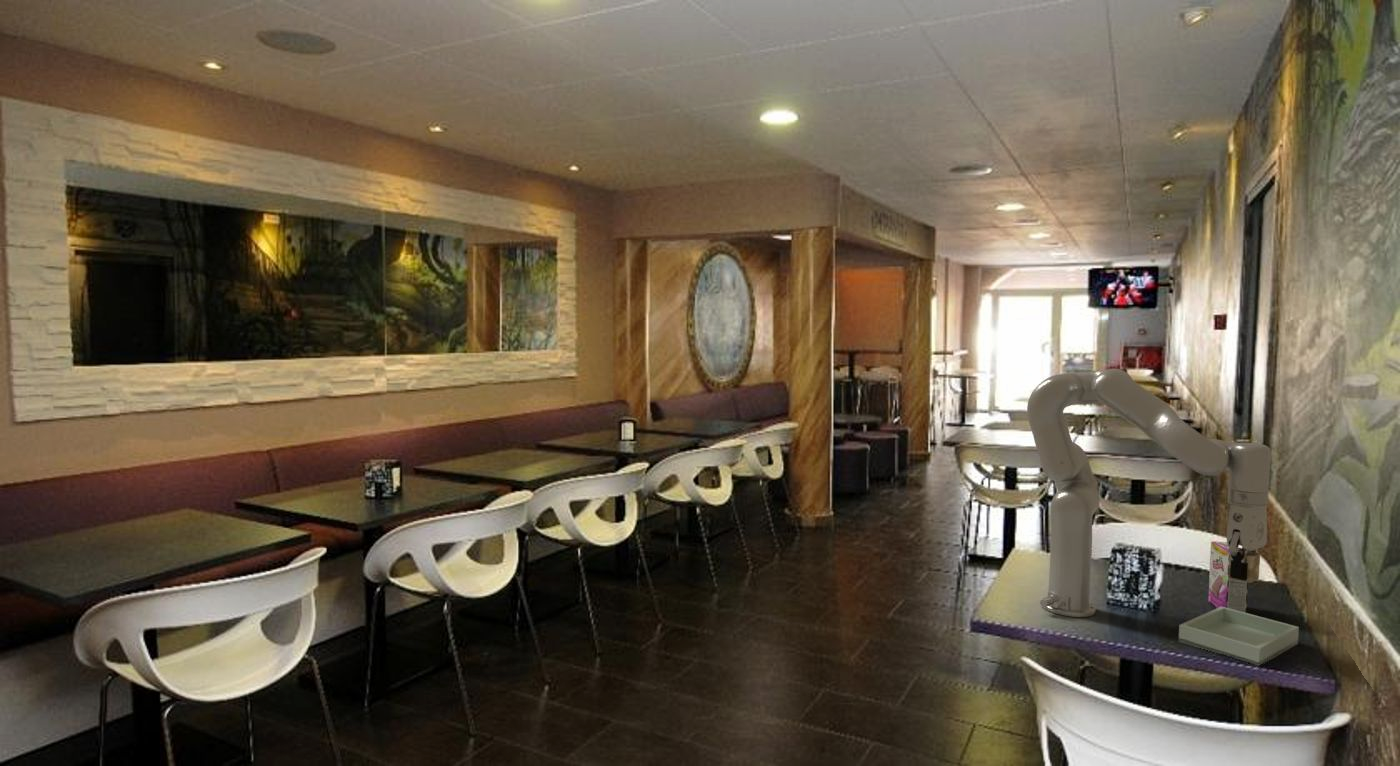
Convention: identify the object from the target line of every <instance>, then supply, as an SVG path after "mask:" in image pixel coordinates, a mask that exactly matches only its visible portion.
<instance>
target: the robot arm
mask: <svg viewBox="0 0 1400 766" xmlns="http://www.w3.org/2000/svg"><path fill="white" fill-rule="evenodd" d="M1092 404H1102V405H1104V406H1106V407H1107V408H1109V409H1110V410H1111V411H1112V412H1114V413H1116V414H1117V415H1119V416H1120V417H1121V418H1123V419H1124V420H1125V421H1127V422H1128V423H1130V424H1132V426H1134V427H1136V428H1137V429H1138V430H1139V431H1141V432H1143V433H1144V434H1145V435H1146V436H1147V437H1148V438H1149V439H1150V440H1152V441H1153V442H1155V443H1156V444H1157V445H1159V446H1160V447H1161V448H1162V449H1163V450H1165V451H1166V452H1167V453H1169V454H1170V455H1171V456H1172V457H1174V458H1175V459H1176V460H1178V461H1180V462H1182V463H1183V464H1184V465H1185V466H1187V467H1188V468H1190V469H1191V470H1193V471H1195V472H1196V473H1198V474H1200V475H1202V476H1209V477H1211V476H1216V475H1219V474H1221V473H1223V472H1224V471H1228V472H1229V473H1228V488H1227V489H1228V491H1227V503H1228V504H1230V507H1229V513H1228V519H1227V528H1226V542H1227V545H1228V546H1229V552H1230V554H1231V557H1230V560H1231V566H1230V577H1231V578H1235V579H1239V580H1244V581H1245V580H1247V569H1248V563H1246V558H1247V552H1248V551H1250V552H1255V553H1259V549H1260V548H1263V547H1265V546H1266V545H1267V543H1268V512H1267V507H1268V506H1269V494H1270V493H1269V492H1270V491H1269V490H1270V475H1271V459H1272V454H1271V453H1272V451H1271V449H1270V447H1269V446H1267V445H1265V444H1261V443H1255V442H1233V441H1226V440H1222V439H1217V438H1207V437H1206V436H1204V435H1203V434H1202V433H1200V432H1199V431H1197V430H1195V429H1194V428H1193V427H1191V426H1190V425H1189V424H1188V423H1186V422H1185V421H1184V420H1183V419H1182V418H1181V417H1180V416H1178V414H1177V412H1176V411H1175V410H1174V409H1173V408H1172V407H1171V406H1170V405H1169V404H1168V403H1167V402H1165V401H1164V400H1162V399H1161V398H1160V397H1158V396H1157V395H1155V394H1154V393H1152V392H1150V391H1149V390H1147V389H1146V388H1145V387H1143V386H1142V385H1140V384H1139V383H1137V382H1136V381H1134V380H1133V378H1132V376H1131V375H1130V374H1129V373H1128V372H1127V371H1125V370H1123V369H1119V368H1109V369H1103V370H1092V371H1090V370H1089V371H1079V372H1066V373H1057V374H1055V375H1051V376H1049V377H1047V378H1046V379H1044V380H1042V381H1041V382H1040V383H1039V384H1037V386H1036V387H1035V388H1034V389H1033V391H1032V392H1031V394H1030V395H1029V398H1028V402H1027V407H1026V408H1027V409H1026V412H1027V419H1028V423H1029V427H1030V430H1031V433H1032V436H1033V440H1034V443H1035V444H1034V445H1035V447H1036V450H1037V453H1038V458H1039V461H1040V465H1041V469H1042V471H1043V473H1044V475H1045V476H1046V477H1047V478H1048V479H1049V480H1051V481H1053V482H1055V486H1056V488H1057V492H1055V494H1054V495H1053V497H1052V499H1051V501H1050V502H1051V503H1050V508H1049V509H1050V514H1049V515H1050V549H1049V551H1050V553H1049V571H1048V572H1049V573H1048V574H1049V575H1048V591H1047V596H1046V597H1043V598H1042V599H1041V600H1040V602H1039V604H1040V606H1041V607H1042V608H1043V609H1045V610H1046V611H1049V612H1051V613H1053V614H1056V615H1061V616H1066V617H1072V618H1073V617H1074V618H1087V617H1092V616H1094V615H1095V614H1096V613H1097V612H1096V607H1095V605H1093V604H1092V603H1090V592H1091V590H1090V589H1091V574H1092V573H1091V571H1092V554H1093V553H1092V550H1093V517H1094V516H1093V515H1094V514H1095V513H1096V511H1097V510H1098V508H1099V505H1100V501H1101V500H1100V494H1099V491H1098V487H1097V483H1096V480H1095V478H1094V475H1093V470H1092V469H1091V465H1090V461H1089V458H1088V456H1087V454H1086V452H1085V451H1084V449H1083V448H1082V447H1081V446H1080V445H1079V444H1077V443H1075V442H1073V440H1072V437H1071V433H1070V429H1069V427H1068V424H1067V421H1066V419H1065V417H1064V410H1065V409H1066V408H1067V407H1068V408H1069V407H1070V406H1077V405H1092ZM1239 546H1241V547H1239ZM1238 550H1239V551H1243V553H1242V554H1241V552H1238Z"/></svg>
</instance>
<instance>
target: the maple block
mask: <svg viewBox="0 0 1400 766" xmlns="http://www.w3.org/2000/svg"><path fill="white" fill-rule="evenodd" d="M1238 552H1241V554H1242V553H1243V551H1239V550H1238ZM1230 557H1231V554H1230V553H1229V569H1228V578H1231V577H1230V566H1231V560H1230ZM1260 562H1261V553H1259V552H1258V553H1255V552H1250V551H1248V552H1247V558H1246V563H1248V569H1247V580H1245V581H1244V580H1240V581H1244V582H1248V584H1251V583H1253V582H1254V583H1255V582H1257V581H1259V579H1260V565H1261V563H1260ZM1231 579H1235V578H1231ZM1236 580H1239V579H1236Z"/></svg>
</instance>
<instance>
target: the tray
mask: <svg viewBox="0 0 1400 766" xmlns="http://www.w3.org/2000/svg"><path fill="white" fill-rule="evenodd" d="M1178 626H1179V627H1178V643H1181V644H1184V645H1187V646H1190V647H1193V646H1194V648H1196V647H1197V649H1199V648H1201V649H1200V650H1203V649H1205V650H1204V651H1206V650H1208V651H1207V652H1209V651H1212V652H1215V653H1214V654H1216V653H1219V654H1224V655H1227V656H1232V657H1235V658H1237V659H1240V660H1244V661H1247V662H1250V663H1253V664H1255V665H1258V666H1259V665H1261V664H1263V663H1264V664H1266V663H1268V662H1270V661H1271V660H1273V659H1274V658H1276V657H1278V656H1280V655H1281V654H1283V653H1284V652H1287V651H1288V650H1290V649H1292V648H1293V647H1295V646H1297V645H1299V634H1300V632H1299V631H1300V629H1299V628H1300V627H1299V626H1297V625H1293V624H1289V623H1285V622H1281V621H1279V620H1274V619H1270V618H1267V617H1262V616H1258V615H1255V614H1251V613H1248V612H1246V613H1244V612H1241V611H1237V610H1233V609H1229V608H1226V607H1222V606H1221V607H1219V608H1216V607H1215V609H1213V610H1210V611H1208V612H1206V613H1205V612H1204V614H1201V615H1199V616H1197V617H1195V618H1192V619H1190V620H1187V621H1185V622H1183V623H1180V624H1179V625H1178ZM1212 652H1211V653H1212ZM1219 654H1218V655H1219ZM1269 660H1270V661H1269ZM1267 661H1268V662H1267ZM1265 662H1266V663H1265ZM1264 664H1263V665H1264ZM1261 666H1262V665H1261ZM1259 667H1260V666H1259Z"/></svg>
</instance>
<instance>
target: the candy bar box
mask: <svg viewBox="0 0 1400 766" xmlns="http://www.w3.org/2000/svg"><path fill="white" fill-rule="evenodd" d="M1229 553H1230V552H1229V546H1228V545H1227V541H1216V540H1215V541H1210V554H1209V557H1210V559H1209V577H1208V592H1207V593H1208V595H1207V603H1210V605H1212V606H1213V607H1215V609H1216V608H1219V607H1221V606H1222V607H1226V608H1229V609H1233V610H1237V611H1241V612H1244V613H1247V610H1248V609H1247V607H1248V593H1249V592H1248V590H1249V583H1248V582H1244V581H1240V580H1236V579H1231V578H1228V569H1229Z"/></svg>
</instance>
